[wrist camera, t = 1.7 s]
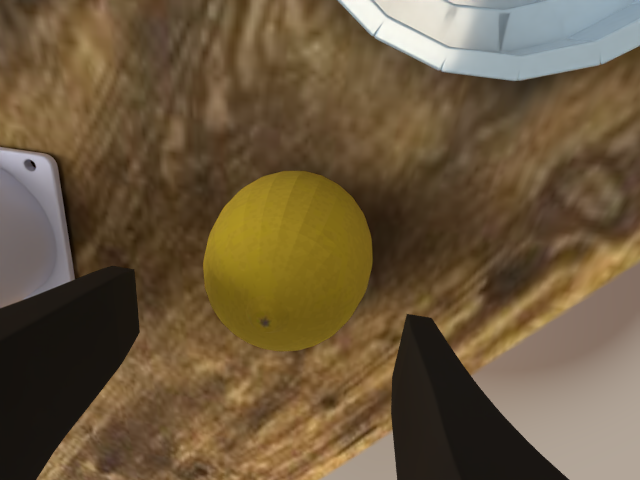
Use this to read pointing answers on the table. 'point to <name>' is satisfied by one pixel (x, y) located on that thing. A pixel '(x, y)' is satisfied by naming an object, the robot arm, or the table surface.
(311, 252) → the lemon
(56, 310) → the robot arm
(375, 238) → the table surface
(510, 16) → the bowl
